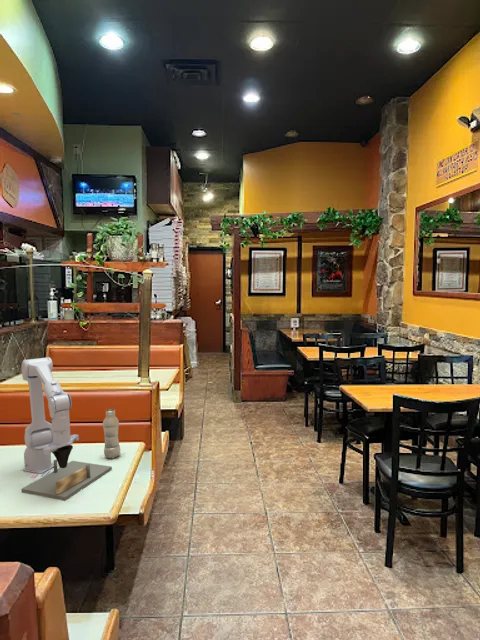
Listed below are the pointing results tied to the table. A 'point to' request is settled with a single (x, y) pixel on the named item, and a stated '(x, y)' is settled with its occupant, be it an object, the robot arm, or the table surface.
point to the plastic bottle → (111, 434)
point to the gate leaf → (71, 480)
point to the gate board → (48, 482)
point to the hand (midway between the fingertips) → (63, 467)
